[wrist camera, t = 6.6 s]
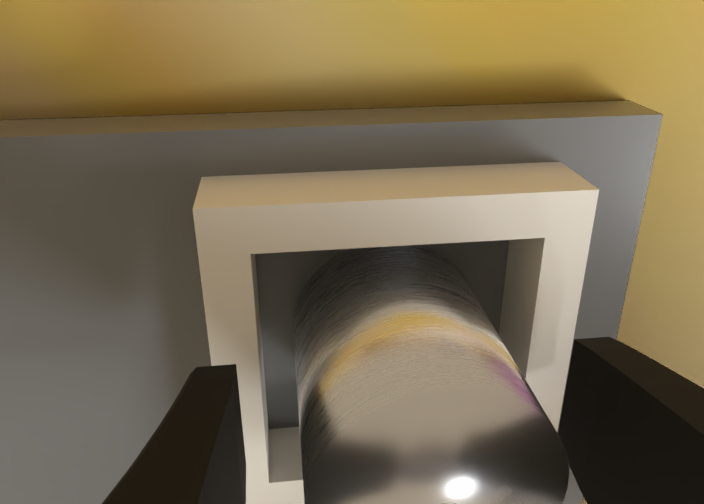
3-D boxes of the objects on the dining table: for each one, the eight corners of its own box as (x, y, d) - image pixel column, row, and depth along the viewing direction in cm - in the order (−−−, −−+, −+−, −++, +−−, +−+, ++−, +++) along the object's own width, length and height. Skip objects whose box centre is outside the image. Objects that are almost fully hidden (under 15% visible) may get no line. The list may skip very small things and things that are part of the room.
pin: (480, 235, 12) (588, 379, 8) (465, 389, 14) (549, 577, 9) (288, 244, 12) (300, 401, 8) (295, 402, 13) (308, 602, 9)
